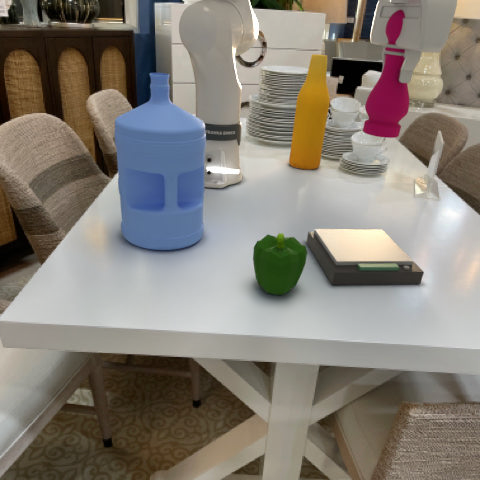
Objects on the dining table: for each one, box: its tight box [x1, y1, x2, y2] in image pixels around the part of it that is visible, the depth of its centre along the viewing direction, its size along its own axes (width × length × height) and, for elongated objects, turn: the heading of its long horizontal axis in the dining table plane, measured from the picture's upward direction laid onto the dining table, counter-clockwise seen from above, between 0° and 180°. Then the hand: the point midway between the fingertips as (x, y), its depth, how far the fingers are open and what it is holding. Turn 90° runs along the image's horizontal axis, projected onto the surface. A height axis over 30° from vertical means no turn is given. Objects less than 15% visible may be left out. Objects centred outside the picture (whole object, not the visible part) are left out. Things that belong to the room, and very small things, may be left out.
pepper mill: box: [362, 10, 410, 139], centre depth 77 cm, size 7×7×20 cm
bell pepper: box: [252, 232, 308, 296], centre depth 75 cm, size 8×8×10 cm
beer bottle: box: [288, 53, 331, 171], centre depth 133 cm, size 9×9×29 cm
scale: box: [306, 228, 425, 286], centre depth 87 cm, size 16×17×3 cm
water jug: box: [114, 72, 206, 251], centre depth 84 cm, size 16×16×28 cm
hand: (394, 80), depth 78 cm, fingers closed on pepper mill, 5 cm apart
